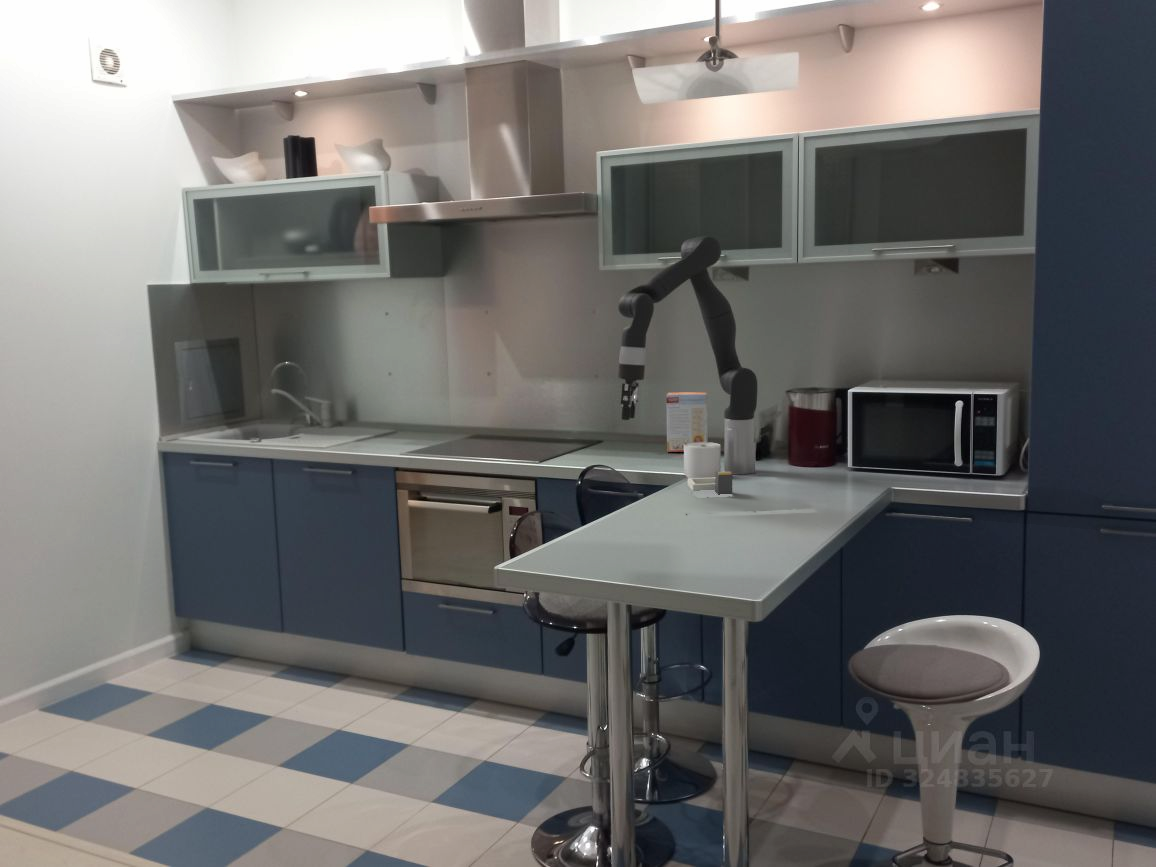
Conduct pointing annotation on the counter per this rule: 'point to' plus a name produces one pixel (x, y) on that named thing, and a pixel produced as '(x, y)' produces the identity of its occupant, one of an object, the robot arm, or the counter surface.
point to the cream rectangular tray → (701, 483)
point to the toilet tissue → (702, 459)
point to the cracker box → (686, 419)
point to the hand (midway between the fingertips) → (628, 418)
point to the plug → (723, 483)
